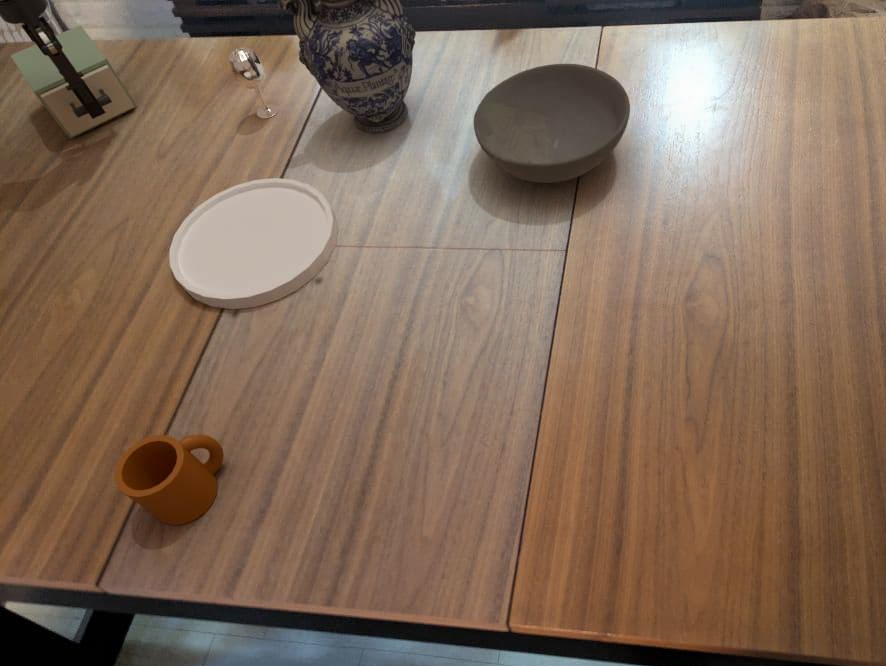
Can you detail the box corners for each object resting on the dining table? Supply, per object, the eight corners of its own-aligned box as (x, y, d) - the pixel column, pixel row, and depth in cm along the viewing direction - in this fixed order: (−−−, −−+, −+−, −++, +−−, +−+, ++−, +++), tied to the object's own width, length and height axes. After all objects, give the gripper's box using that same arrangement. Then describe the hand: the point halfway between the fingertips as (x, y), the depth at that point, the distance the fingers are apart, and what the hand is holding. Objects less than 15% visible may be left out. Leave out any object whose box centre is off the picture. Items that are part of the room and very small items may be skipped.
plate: (262, 169, 132) (256, 159, 129) (371, 224, 121) (366, 213, 119) (143, 266, 121) (135, 256, 119) (251, 335, 111) (244, 325, 109)
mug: (249, 487, 96) (217, 457, 89) (166, 538, 93) (126, 511, 86) (225, 442, 101) (193, 409, 93) (145, 488, 98) (105, 459, 90)
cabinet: (137, 106, 146) (106, 58, 137) (70, 139, 142) (33, 91, 133) (111, 72, 154) (80, 24, 145) (46, 102, 150) (10, 55, 141)
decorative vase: (330, 159, 132) (268, 9, 108) (323, 100, 141) (264, -49, 118) (442, 133, 133) (404, -21, 109) (427, 76, 142) (390, -76, 119)
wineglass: (286, 112, 140) (260, 55, 130) (259, 124, 139) (232, 68, 129) (275, 98, 143) (249, 41, 133) (249, 110, 142) (221, 54, 132)
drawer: (142, 116, 142) (116, 76, 135) (78, 147, 139) (48, 108, 131) (109, 74, 152) (83, 34, 144) (49, 102, 148) (19, 63, 141)
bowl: (605, 221, 117) (605, 172, 108) (459, 195, 123) (448, 148, 115) (645, 121, 129) (647, 70, 121) (510, 102, 136) (504, 53, 127)
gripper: (43, -6, 114) (127, 120, 134) (21, -34, 120) (105, 90, 140) (-3, 13, 112) (90, 138, 132) (-23, -16, 118) (69, 107, 138)
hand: (98, 114), depth 136 cm, fingers closed
